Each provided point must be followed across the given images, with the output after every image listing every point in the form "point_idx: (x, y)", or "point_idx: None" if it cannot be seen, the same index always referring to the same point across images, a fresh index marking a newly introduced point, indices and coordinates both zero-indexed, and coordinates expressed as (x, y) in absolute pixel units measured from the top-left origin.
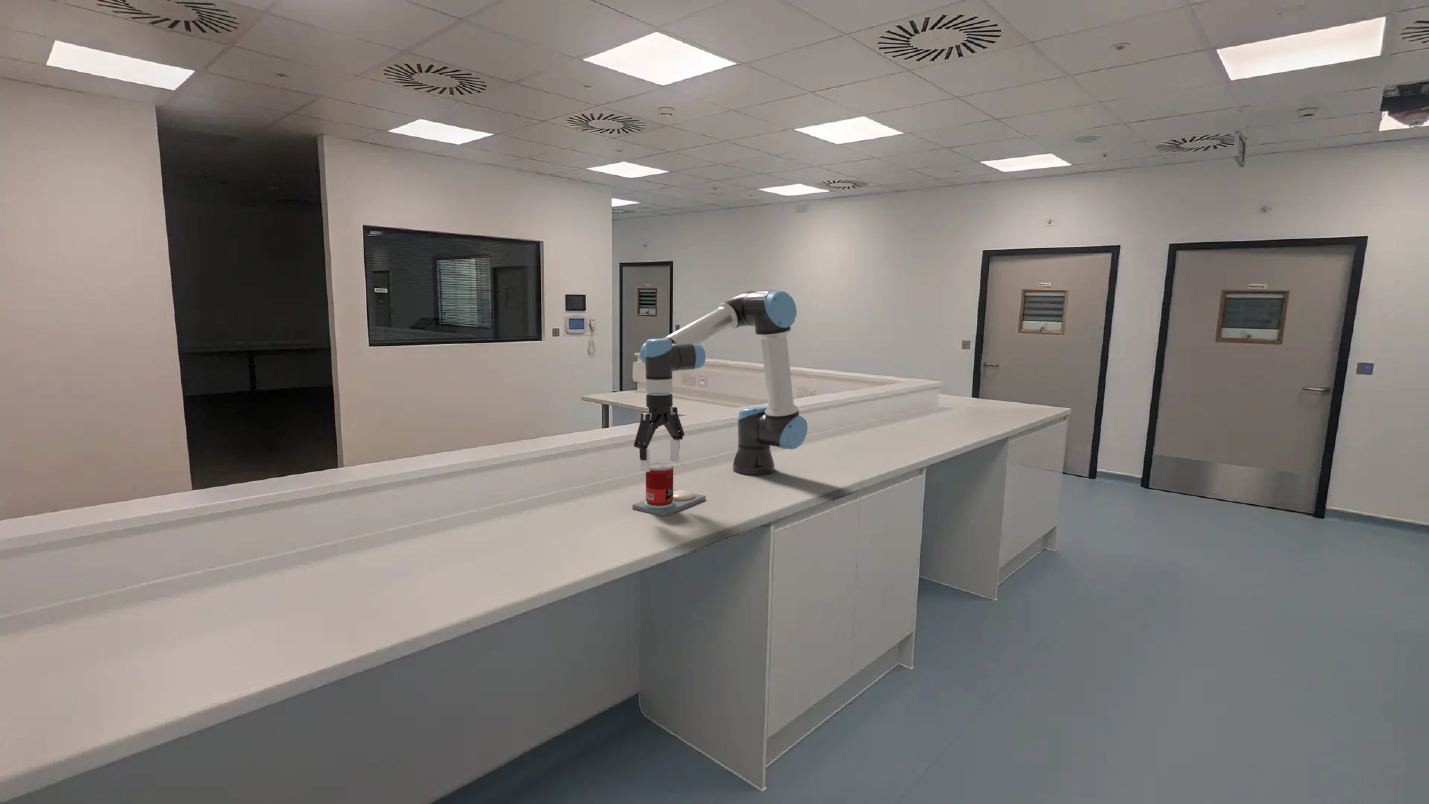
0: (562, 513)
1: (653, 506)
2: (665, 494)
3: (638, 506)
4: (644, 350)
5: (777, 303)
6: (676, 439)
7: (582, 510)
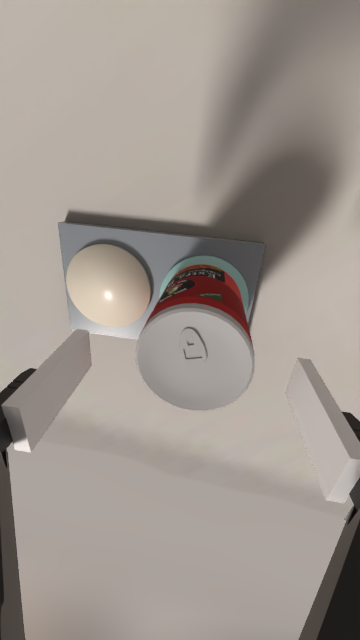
0: None
1: (247, 295)
2: (225, 279)
3: None
4: None
5: None
6: (5, 421)
7: (297, 426)
